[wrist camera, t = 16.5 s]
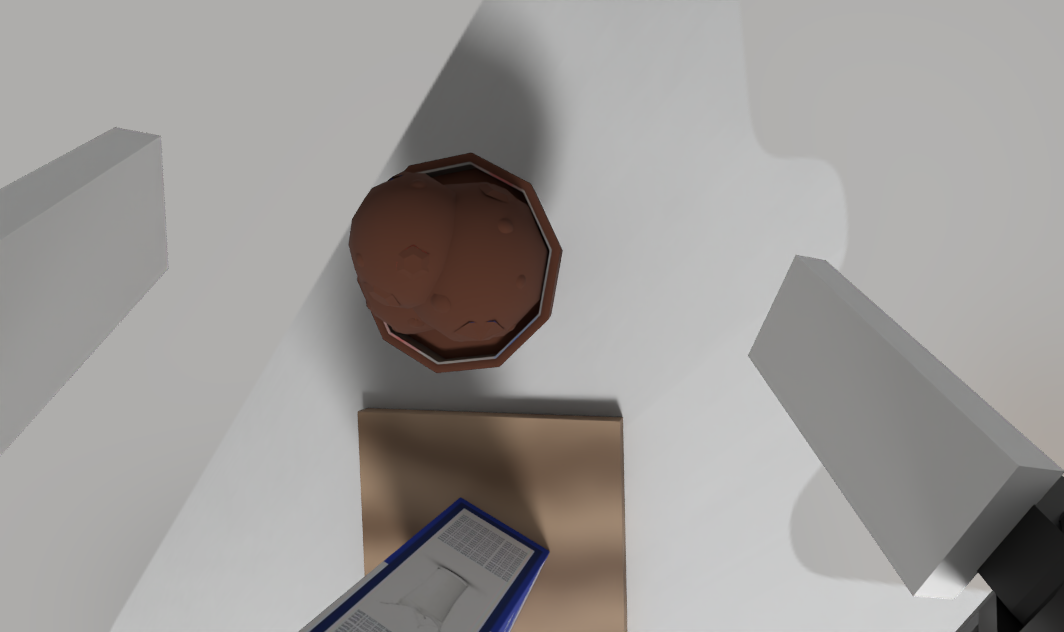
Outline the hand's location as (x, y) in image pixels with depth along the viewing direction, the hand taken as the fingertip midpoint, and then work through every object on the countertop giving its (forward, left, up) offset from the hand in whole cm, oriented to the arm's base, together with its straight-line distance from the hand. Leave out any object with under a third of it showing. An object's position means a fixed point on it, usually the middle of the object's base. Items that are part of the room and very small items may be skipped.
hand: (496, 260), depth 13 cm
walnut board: (+20, +5, -26) cm, 33 cm away
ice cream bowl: (+5, -6, -26) cm, 28 cm away
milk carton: (+21, +5, -25) cm, 33 cm away
